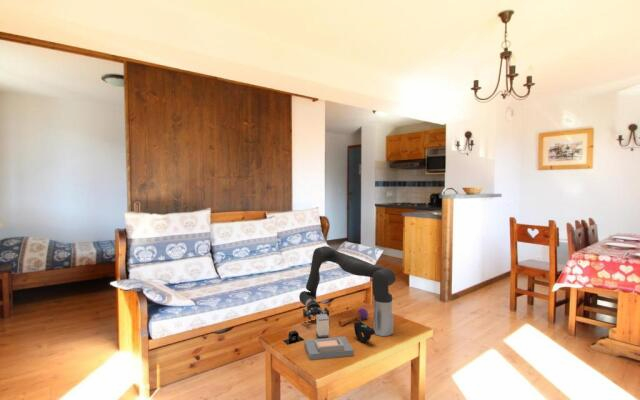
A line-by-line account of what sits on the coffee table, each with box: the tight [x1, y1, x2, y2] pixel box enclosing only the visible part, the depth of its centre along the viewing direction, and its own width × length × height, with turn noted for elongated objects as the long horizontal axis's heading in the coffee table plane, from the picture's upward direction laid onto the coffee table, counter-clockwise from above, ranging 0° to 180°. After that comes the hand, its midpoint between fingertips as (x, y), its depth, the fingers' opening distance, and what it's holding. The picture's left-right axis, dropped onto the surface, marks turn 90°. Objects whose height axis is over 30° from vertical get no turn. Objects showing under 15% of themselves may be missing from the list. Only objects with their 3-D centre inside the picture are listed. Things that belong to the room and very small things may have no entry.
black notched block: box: [282, 330, 305, 346], centre depth 166 cm, size 12×7×5 cm, turn 123°
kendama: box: [337, 307, 369, 327], centre depth 189 cm, size 6×6×20 cm
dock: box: [304, 336, 355, 361], centre depth 156 cm, size 20×14×5 cm
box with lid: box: [315, 313, 330, 339], centre depth 168 cm, size 5×6×11 cm
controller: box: [353, 319, 375, 343], centre depth 164 cm, size 4×12×10 cm, turn 35°
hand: (318, 317), depth 179 cm, fingers open, 8 cm apart
